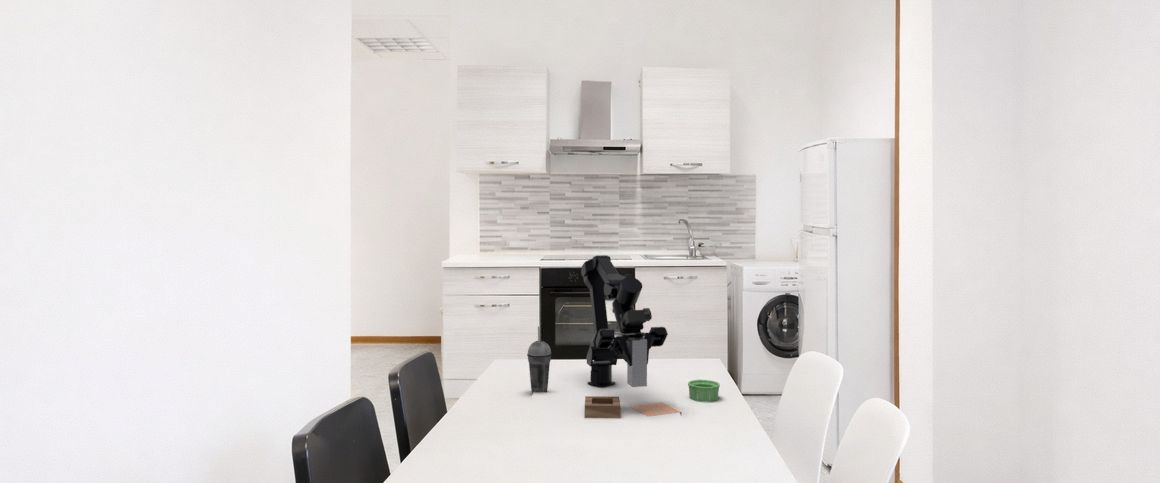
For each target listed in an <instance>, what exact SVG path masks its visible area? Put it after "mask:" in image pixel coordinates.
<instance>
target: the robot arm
mask: <svg viewBox="0 0 1160 483" xmlns="http://www.w3.org/2000/svg"><path fill="white" fill-rule="evenodd" d="M580 269H581V271H580V272H581V276H582V277H583V282H584V284H585V286H586V287H587V289H589V295H590V304H591V305H590V306H591V316H592V326H593V335H592V338H591V340H590V343H589V347H588V350H587V354H586V356H585V357H586V364H587V365H588V366H589V367H590V381H587V385H592V386H596V387H600V388H605V387H608V386H612V385H615V384H616V381H613V380H612V378H613V377H612V374H613V371H612V369H613V366H617V363H618V356H619V357H621V358H622V359H623V360H624V362H625V363H626V364H628V365H629V366H631V365H632V362H631V357H630V354H629V351H628V348H627V338H639V337H642V338H644V339H646V340H647V365H648V364H649V357H650V356H649V355H650V354H649V353H650V350H651V348H652V347H662V346H663V345H664V343H665V341H666V339H667V337H668V334H669V333H668V330H667V328H666V327H665V326H651V327H650V328H649V329H650V330H649V331H648V332H645V331H644V332H643V331H642V330H643V329H644V328H645V327H644V324H645V323H646V322H650V321H652V318H653V314H652V311H651V309H650V307H645V308H644V307H643V308H642V309H635V306H634V305H636V304H637V302H638V300H639V297H640V295H641V291H642V289H643V283H642V282H641V280H639V279H638V278H636V277H633V274H632V273H631V274H627V273H626V274H625V275H622V274H619V271H617V269H616V267H615V265H614V264H613V262H612V260H611V256H609V255H603V254H602V255H595V256H592V258H591V259H588V260H586V261H584V262H583V264H582V266H581V268H580ZM606 298H607V299H608V300H613V301H612V306H611V307H612V313H613V314H614V317H615V321H616V324H615V327H616V329H618V331H616V330H615V329H614V328H609V323H608V314H607V306H606V305H607V303H606Z"/></svg>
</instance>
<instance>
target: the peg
mask: <svg viewBox="0 0 1160 483" xmlns="http://www.w3.org/2000/svg"><path fill="white" fill-rule="evenodd" d="M626 345H627V348H628V351H629V354H630V357H631V362H632V365H631V366H629V365H628V364H627V363H626V364H627V365H626V367H627V368H626V369H627V370H626V371H627V372H626V375H627V376H626V377H627V378H626V379H627V380H626V381H627V385H629V386H630V387H631V388H639V387H647V386H648V385H647V384H648V364H647V340H646V339H644V338H642V337H639V338H627V341H626Z"/></svg>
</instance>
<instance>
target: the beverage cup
mask: <svg viewBox="0 0 1160 483" xmlns="http://www.w3.org/2000/svg"><path fill="white" fill-rule="evenodd" d="M540 327H541V326H537V340H535V341H534V342H532V343H531V344H530V345H529V347H528V349H527V361H528V368H529V378H530V380H529V381H530V389H531V390H530V391H531V394H532V395H533V394H534V393H548V389H549V388H548V386H549V377H550V376H549V375H550V366H551V365H550V364H551V359H552V350H551V346H550V345H549V344H548V343H547V342H545V341H543V340H541V334H540V330H541V329H540Z"/></svg>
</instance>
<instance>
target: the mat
mask: <svg viewBox="0 0 1160 483" xmlns="http://www.w3.org/2000/svg"><path fill="white" fill-rule="evenodd" d="M629 407H630V408H632V409H634V410H636V411H637V412H639V413H640V414H643V416H646V417H653V416H661V415H669V414H679V415H680V416H681V417H682V415H683V414H682V411H681V410H678V409H676V408H674V407H673V406H671V405H668V404H666V403H665V402H662V401H660V402H659V401H658V402H654V403H653V402H652V403H645V404H643V403H642V404H636V405H629Z"/></svg>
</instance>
